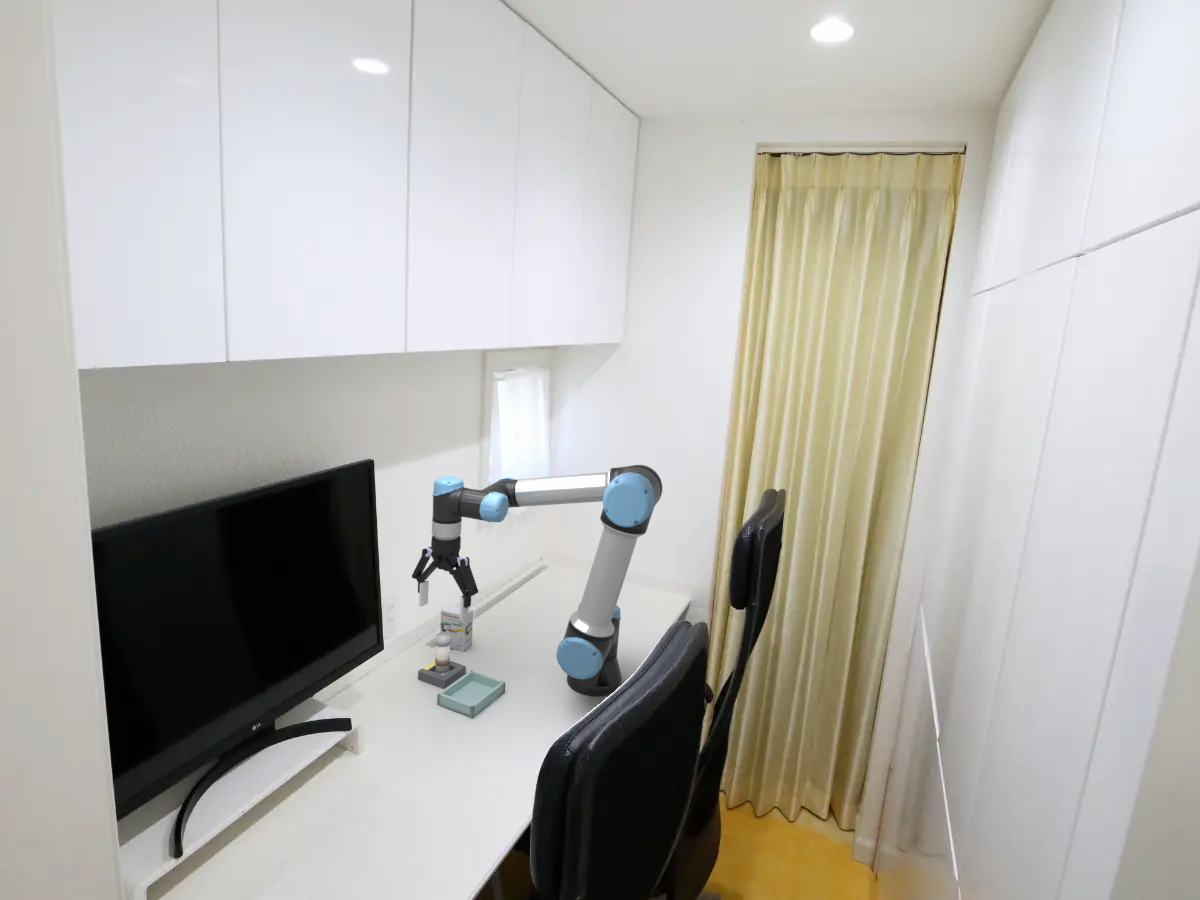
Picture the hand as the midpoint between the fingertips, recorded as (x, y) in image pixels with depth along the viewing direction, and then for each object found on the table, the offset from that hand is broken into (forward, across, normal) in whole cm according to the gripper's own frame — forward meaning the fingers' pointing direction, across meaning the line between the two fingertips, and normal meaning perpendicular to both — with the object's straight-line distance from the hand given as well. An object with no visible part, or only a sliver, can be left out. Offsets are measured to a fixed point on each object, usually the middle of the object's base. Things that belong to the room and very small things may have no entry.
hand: (443, 611), depth 177 cm
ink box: (+19, +8, -16) cm, 26 cm away
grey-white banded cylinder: (+19, 0, 0) cm, 19 cm away
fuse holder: (+19, 0, 0) cm, 19 cm away
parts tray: (+19, -13, +4) cm, 24 cm away
